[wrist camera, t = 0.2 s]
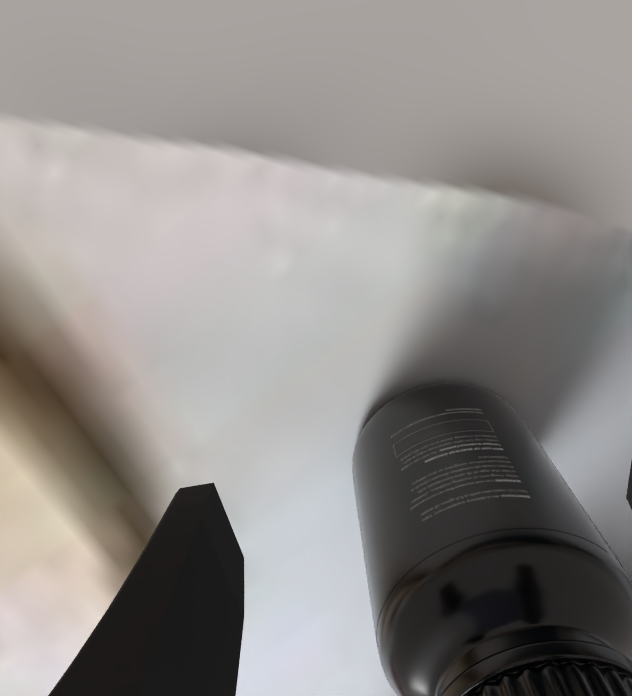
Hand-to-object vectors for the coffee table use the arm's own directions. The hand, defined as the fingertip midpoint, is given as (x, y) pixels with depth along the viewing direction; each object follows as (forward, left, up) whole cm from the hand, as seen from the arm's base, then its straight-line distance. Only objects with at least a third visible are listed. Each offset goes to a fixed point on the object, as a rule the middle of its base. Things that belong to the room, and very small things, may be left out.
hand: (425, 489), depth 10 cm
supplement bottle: (-4, -6, -11) cm, 13 cm away
